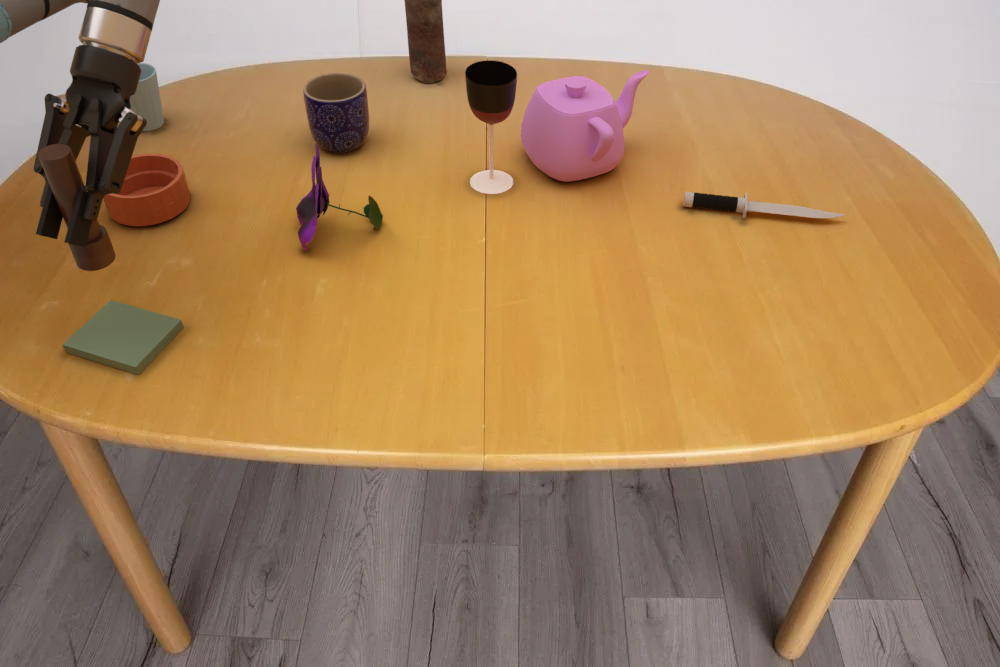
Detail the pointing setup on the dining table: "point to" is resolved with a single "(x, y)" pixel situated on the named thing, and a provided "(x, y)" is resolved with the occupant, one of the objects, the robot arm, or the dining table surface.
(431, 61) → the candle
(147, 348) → the board
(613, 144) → the teapot
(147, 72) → the cup
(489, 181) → the wineglass
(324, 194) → the flower
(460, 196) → the dining table surface
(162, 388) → the dining table surface
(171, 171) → the bowl
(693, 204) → the knife
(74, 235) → the robot arm
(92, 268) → the pestle
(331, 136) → the planter
